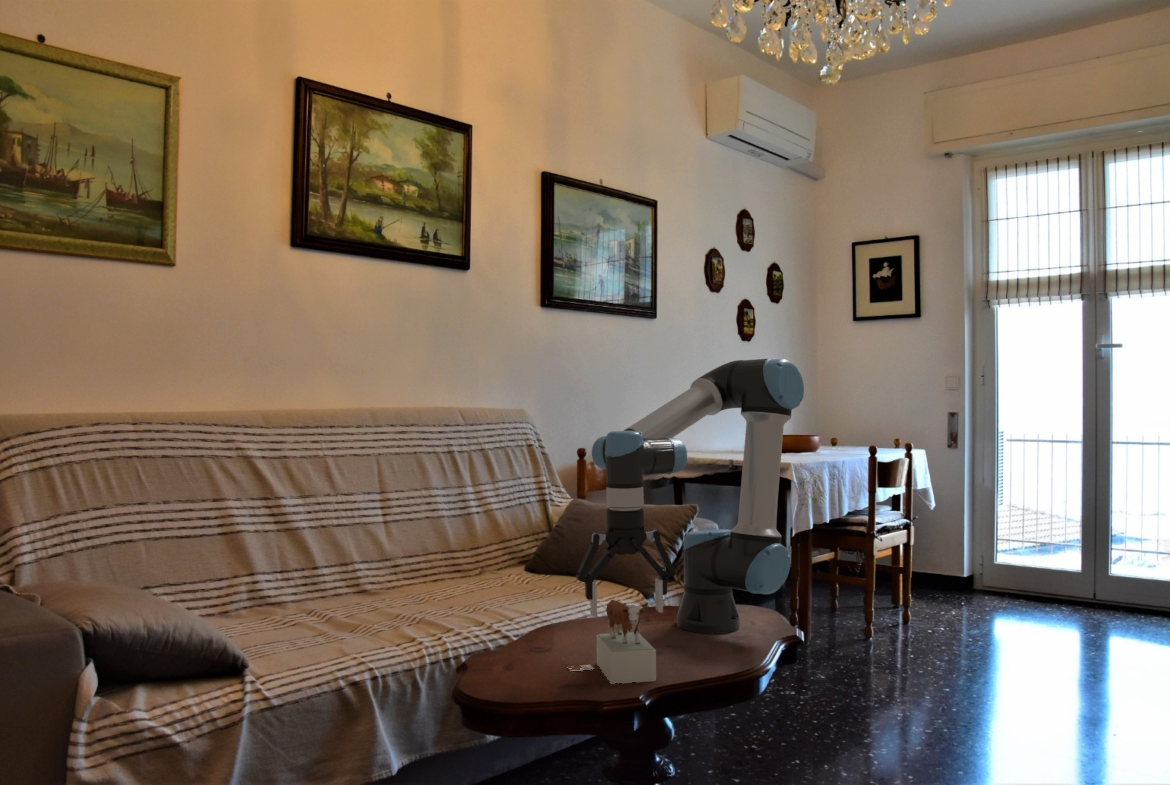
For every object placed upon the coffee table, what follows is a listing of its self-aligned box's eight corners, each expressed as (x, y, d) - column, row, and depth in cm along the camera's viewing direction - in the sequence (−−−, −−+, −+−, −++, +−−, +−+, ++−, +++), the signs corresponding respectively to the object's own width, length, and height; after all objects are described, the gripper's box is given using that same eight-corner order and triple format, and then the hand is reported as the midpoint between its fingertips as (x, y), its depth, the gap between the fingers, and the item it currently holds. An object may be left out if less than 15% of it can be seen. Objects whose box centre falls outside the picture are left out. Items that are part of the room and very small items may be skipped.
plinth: (638, 661, 183) (638, 631, 183) (656, 681, 170) (655, 648, 170) (596, 664, 181) (596, 633, 181) (611, 684, 168) (610, 651, 168)
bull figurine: (629, 650, 169) (629, 608, 169) (602, 633, 181) (602, 594, 181) (649, 648, 170) (649, 606, 170) (622, 631, 183) (622, 592, 183)
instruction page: (590, 665, 180) (590, 664, 180) (595, 669, 177) (595, 668, 177) (567, 668, 179) (567, 667, 179) (571, 672, 176) (571, 671, 176)
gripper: (678, 502, 182) (680, 604, 182) (560, 508, 177) (562, 612, 177) (690, 507, 175) (691, 613, 175) (567, 513, 170) (569, 622, 170)
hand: (626, 613), depth 176 cm, fingers open, 13 cm apart
